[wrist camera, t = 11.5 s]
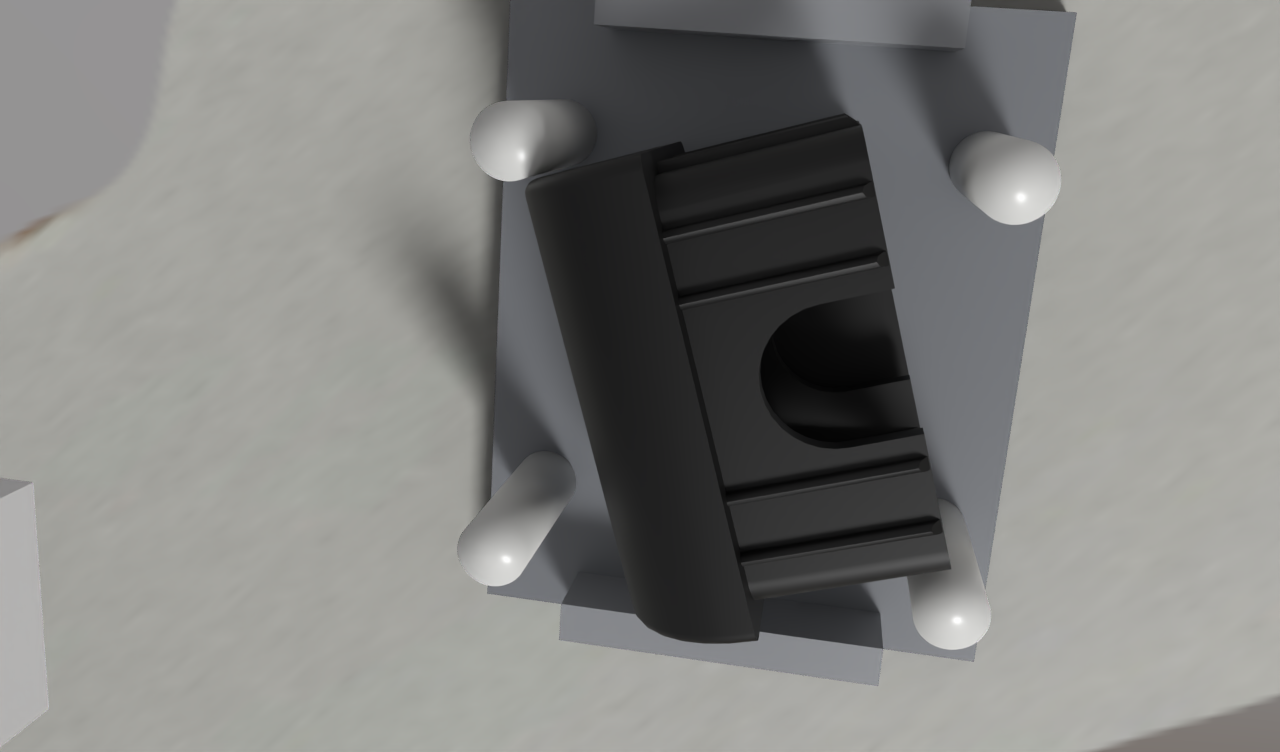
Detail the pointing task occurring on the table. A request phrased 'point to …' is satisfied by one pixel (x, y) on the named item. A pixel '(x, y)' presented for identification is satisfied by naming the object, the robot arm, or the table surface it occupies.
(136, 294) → the table surface
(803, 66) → the tray
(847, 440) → the end cap
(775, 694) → the table surface
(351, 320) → the table surface
